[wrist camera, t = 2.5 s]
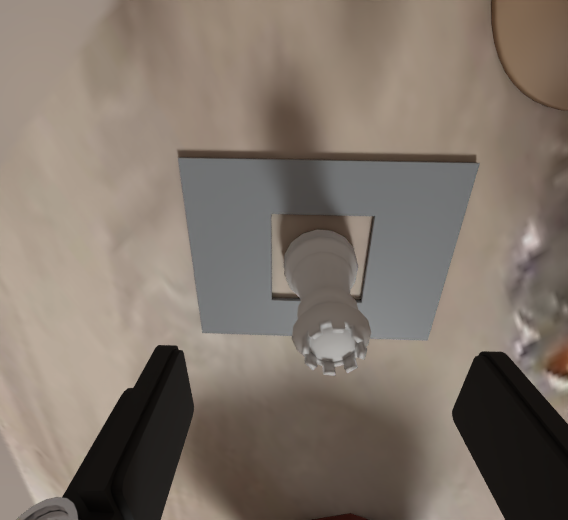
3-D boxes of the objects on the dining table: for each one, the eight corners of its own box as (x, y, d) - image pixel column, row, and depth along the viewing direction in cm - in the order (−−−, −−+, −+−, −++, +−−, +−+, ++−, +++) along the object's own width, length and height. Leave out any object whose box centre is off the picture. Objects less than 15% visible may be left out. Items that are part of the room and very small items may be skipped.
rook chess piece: (270, 247, 18) (254, 332, 11) (336, 213, 17) (365, 285, 10) (304, 300, 20) (308, 404, 13) (366, 272, 19) (409, 370, 12)
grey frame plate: (476, 162, 16) (479, 163, 16) (425, 337, 21) (427, 340, 21) (179, 157, 16) (177, 158, 16) (203, 330, 22) (202, 332, 21)
